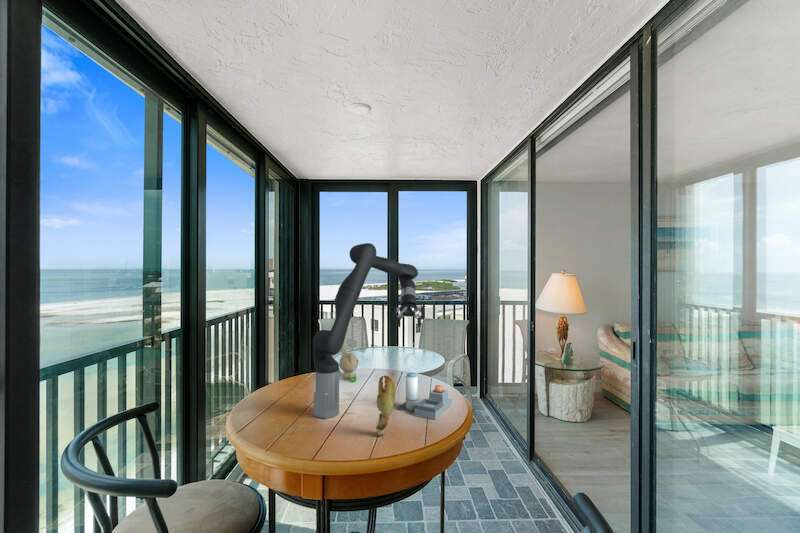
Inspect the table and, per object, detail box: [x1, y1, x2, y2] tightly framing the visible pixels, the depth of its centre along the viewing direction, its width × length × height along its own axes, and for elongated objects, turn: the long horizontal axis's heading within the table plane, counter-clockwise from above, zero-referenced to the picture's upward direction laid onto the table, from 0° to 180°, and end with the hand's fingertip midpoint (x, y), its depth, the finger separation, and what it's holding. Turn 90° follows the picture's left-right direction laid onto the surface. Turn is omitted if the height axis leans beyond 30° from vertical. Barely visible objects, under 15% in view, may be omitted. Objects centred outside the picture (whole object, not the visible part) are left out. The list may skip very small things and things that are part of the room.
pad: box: [394, 401, 414, 414], centre depth 148 cm, size 10×10×1 cm
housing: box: [413, 388, 453, 421], centre depth 145 cm, size 17×9×6 cm, turn 151°
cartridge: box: [405, 372, 419, 410], centre depth 147 cm, size 5×5×14 cm
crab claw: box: [375, 375, 397, 437], centre depth 123 cm, size 7×5×20 cm
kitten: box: [338, 348, 359, 383], centre depth 190 cm, size 15×10×15 cm
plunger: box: [434, 384, 444, 393], centre depth 150 cm, size 3×3×2 cm
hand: (409, 325), depth 158 cm, fingers open, 8 cm apart
